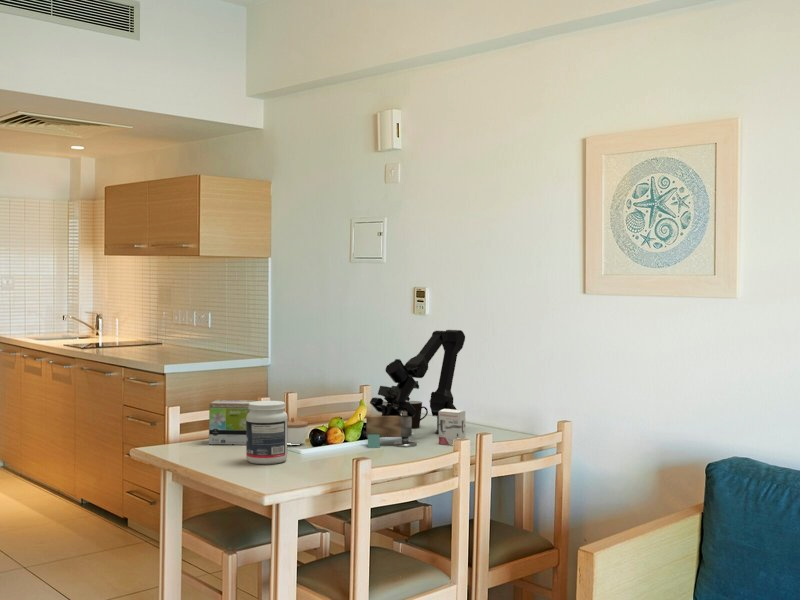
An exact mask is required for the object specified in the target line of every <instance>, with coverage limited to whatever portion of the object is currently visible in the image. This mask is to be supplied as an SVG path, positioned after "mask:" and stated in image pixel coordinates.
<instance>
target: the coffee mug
mask: <svg viewBox="0 0 800 600" xmlns="http://www.w3.org/2000/svg"><path fill="white" fill-rule="evenodd" d="M406 402H410V404H411V405H412V406H413V407H414V408H415V409H416V414H415V416H414V417H412V430H416V429H419V428H420V427H421V421H422V420H423V419H425V418H426V416H428V414H429V411H428V408H427V407H426V406H424V405H423V401H420V400H409V401H406ZM422 409H424V410H425V412H426V413H425V414H424V415H423V416H422ZM407 413H408V412H407V411H403V412H402V413H401V416H402V415H407ZM421 416H422V417H421Z"/></svg>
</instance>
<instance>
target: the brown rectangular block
mask: <svg viewBox="0 0 800 600" xmlns="http://www.w3.org/2000/svg"><path fill="white" fill-rule="evenodd" d="M365 418H366V424H365V425H366V431H365V432H366V436H365V437H366V438H368V433H380V438H402V437H409V438H410V437H412V435H413V432H412V431H413V429H412V416H408V415H402V414H401V416H382V415H366V417H365Z"/></svg>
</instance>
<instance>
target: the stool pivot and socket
mask: <svg viewBox="0 0 800 600" xmlns="http://www.w3.org/2000/svg"><path fill="white" fill-rule="evenodd" d="M380 438H381V437H380V433H368V437H367V448H368V449H369V448H370V449H371V448H373V449H375V448H377V449H379V448H380V444H381V442H380ZM409 439H410V437H401V440H400V441H395V442H393V446H395V447H398V448H412V447H416V446H417V445H418V442H415V441H410V440H409Z"/></svg>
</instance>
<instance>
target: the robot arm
mask: <svg viewBox="0 0 800 600" xmlns="http://www.w3.org/2000/svg"><path fill="white" fill-rule="evenodd" d="M465 341H466V334H465V333H464V332H463V330H460V329H446V330H435V331H433V332H432V333H431V336H430V338H429V339H428V340H427V342H426V343H425V344H424V345H423V347H422V349H420V351H419V352H418V353H417V354H416V355H415V356H413V357H411V358H410V359H409V360H407V362H406V363H405V364H403V362H402V360H401V359H400V358H395V359H394V360H393V361H391V362H390V363H389V364H387V365H386V367H385V373H386V374H387V375H388V376H389V377H390V380H392V381H393V383H395V384H396V385H392V386H391V387H390V386H387V385H385V386H384V385H380V386H379V388H378V391H377V395H378V396H382V397H384V398H381V397H372V398H371V400H370V401H369V404H370V405H371V406H372V407H373V408H374V409H375V410H376V412H378V413H381V416H402V412H403V411H407V412H408V413H407V415H408V416H412V417H414V416H415V414H416V409H415V408H414V407H413V406H412V405H411V404H410V402H406V401H411V398H410V395H411V393H412V392H413V390H414V389H416V390H419V389H420V385H419V381H418V380H415V379H423V378H424V377H425V375H426V374H427V371H428V370H429V363H430V362H431V360H432V359H433V358H434V356H435V355H436V353H437V352H438V351H439V349H440V348H441V346H442V348H443V351H444V353H443V359H442V363H441V364H442V365H441V367H440V368H441V370H440V375H439V381H438V385H437V386H438V387H437V389H436V390H435V391H432V392H431V393H430V399H429V408H430V413H431V415H432V417H436V425H437V427H436V431H435V434H437V435H439V411H440V410H442V409H454V410H458V409H457V407H456V406H455V404H454V396H453V394H452V385H453V380H454V376H455V369H456V363H457V357H458V354H459V353H460V351H461V350H462V349H463V347H464V344H465ZM384 400H385V401H384Z"/></svg>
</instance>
